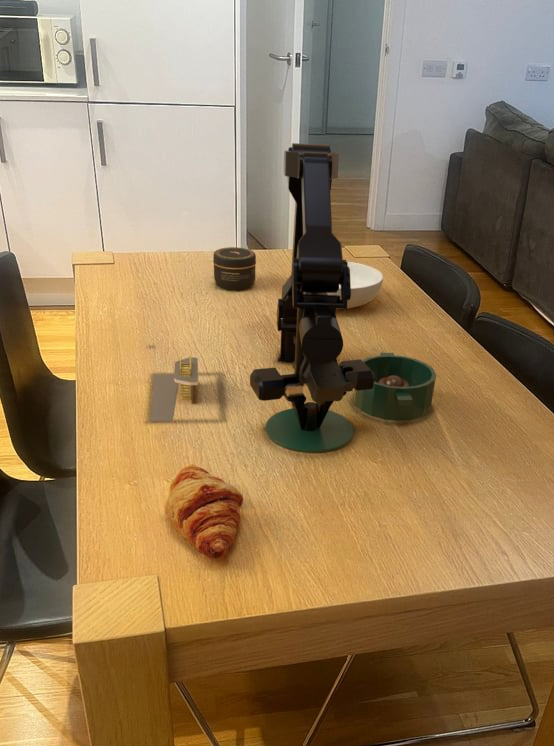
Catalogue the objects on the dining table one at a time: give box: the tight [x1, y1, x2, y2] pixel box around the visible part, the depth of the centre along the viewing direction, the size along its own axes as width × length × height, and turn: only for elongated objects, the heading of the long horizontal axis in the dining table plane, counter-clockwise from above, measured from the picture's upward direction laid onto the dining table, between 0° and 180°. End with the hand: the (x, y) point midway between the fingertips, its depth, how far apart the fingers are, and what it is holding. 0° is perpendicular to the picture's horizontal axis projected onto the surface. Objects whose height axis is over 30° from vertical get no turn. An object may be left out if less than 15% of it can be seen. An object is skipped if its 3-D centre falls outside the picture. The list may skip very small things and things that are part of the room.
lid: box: [265, 401, 355, 454], centre depth 121 cm, size 14×14×5 cm
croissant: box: [164, 463, 244, 559], centre depth 100 cm, size 21×10×8 cm, turn 18°
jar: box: [212, 246, 257, 292], centre depth 179 cm, size 10×10×8 cm
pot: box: [353, 352, 437, 422], centre depth 131 cm, size 13×19×6 cm
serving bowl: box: [290, 260, 384, 309], centre depth 172 cm, size 21×21×7 cm
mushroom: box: [379, 375, 409, 387], centre depth 131 cm, size 5×5×5 cm
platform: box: [149, 354, 199, 423], centre depth 130 cm, size 12×18×7 cm, turn 7°
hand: (309, 427), depth 122 cm, fingers closed on lid, 2 cm apart
